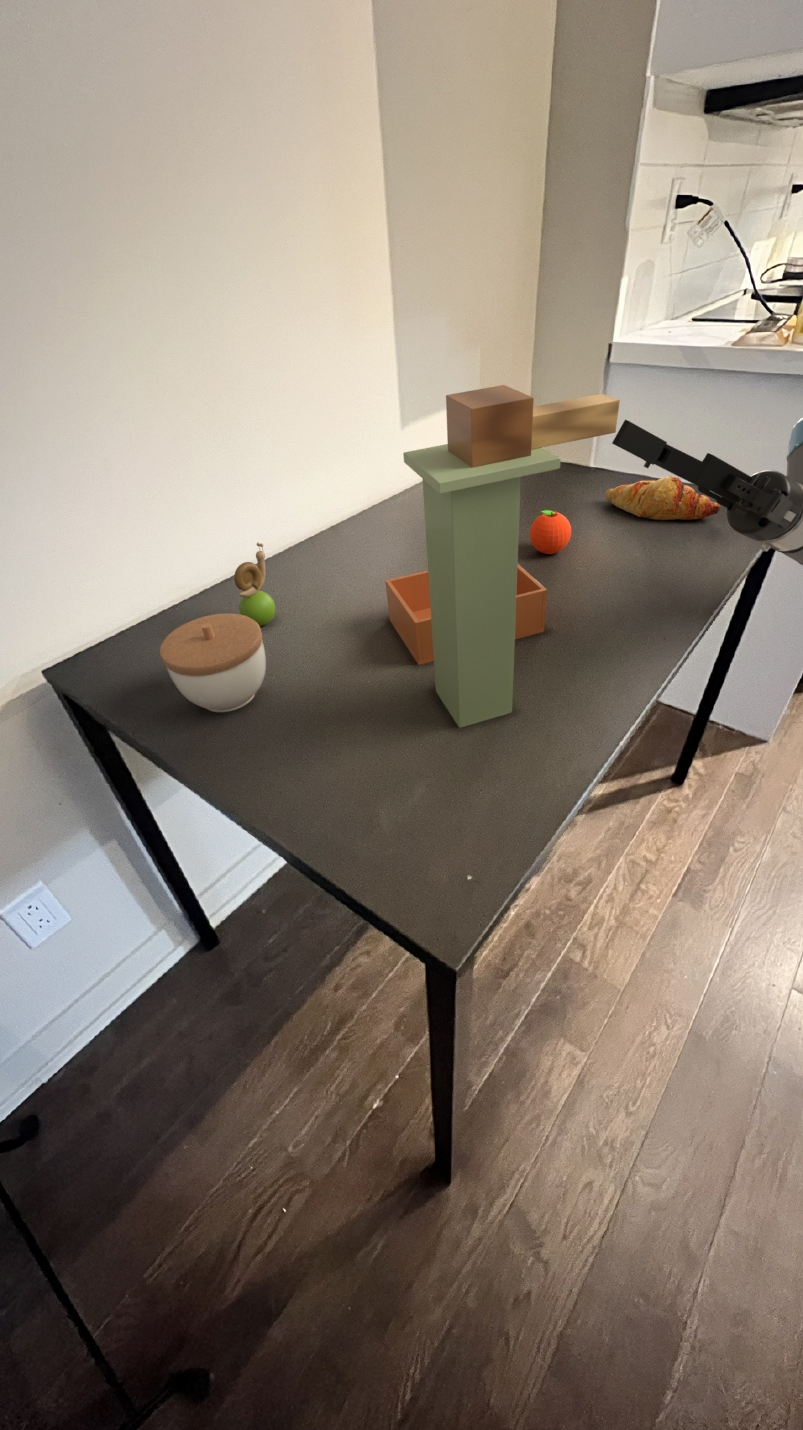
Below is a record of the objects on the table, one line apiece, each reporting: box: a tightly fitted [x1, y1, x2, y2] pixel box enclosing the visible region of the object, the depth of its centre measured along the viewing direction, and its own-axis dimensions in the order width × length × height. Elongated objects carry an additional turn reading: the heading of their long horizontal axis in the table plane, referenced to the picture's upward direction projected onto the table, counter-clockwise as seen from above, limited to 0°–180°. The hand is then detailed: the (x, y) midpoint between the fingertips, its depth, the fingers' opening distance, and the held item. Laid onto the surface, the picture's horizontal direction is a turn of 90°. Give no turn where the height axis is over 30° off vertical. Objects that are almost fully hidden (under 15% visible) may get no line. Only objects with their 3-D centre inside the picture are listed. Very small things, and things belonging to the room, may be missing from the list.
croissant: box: [605, 475, 722, 521], centre depth 116 cm, size 21×10×8 cm, turn 53°
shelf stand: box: [403, 443, 562, 728], centre depth 69 cm, size 12×10×30 cm
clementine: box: [529, 509, 572, 555], centre depth 107 cm, size 8×7×7 cm
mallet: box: [445, 384, 620, 468], centre depth 59 cm, size 16×6×5 cm, turn 109°
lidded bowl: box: [159, 613, 267, 713], centre depth 80 cm, size 13×13×11 cm
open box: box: [385, 563, 548, 666], centre depth 90 cm, size 19×13×7 cm
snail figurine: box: [233, 542, 276, 627], centre depth 95 cm, size 5×6×12 cm
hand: (657, 448), depth 65 cm, fingers open, 13 cm apart
